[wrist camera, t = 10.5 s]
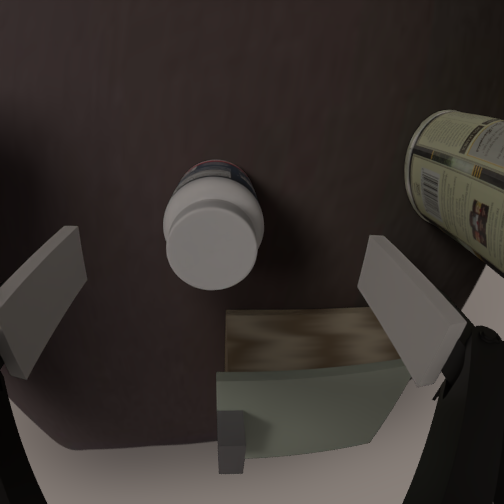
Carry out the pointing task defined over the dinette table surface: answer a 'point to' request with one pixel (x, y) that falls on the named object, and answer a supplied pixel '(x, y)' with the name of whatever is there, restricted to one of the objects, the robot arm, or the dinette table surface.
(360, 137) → the dinette table surface
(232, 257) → the pill bottle
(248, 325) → the box
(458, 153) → the coffee can
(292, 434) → the lid
